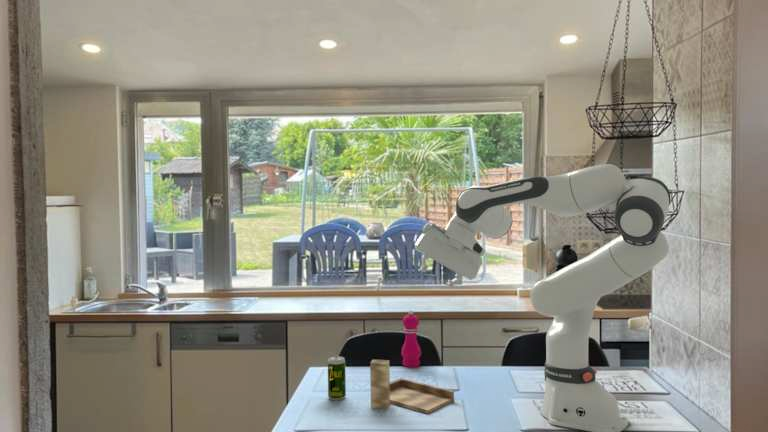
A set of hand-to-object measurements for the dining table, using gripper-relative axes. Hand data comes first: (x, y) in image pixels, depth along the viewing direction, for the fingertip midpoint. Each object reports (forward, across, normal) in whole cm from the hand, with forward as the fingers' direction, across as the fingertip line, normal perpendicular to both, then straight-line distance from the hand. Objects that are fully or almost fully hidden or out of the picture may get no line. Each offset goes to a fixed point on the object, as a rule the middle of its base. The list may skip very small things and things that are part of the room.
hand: (435, 279), depth 162 cm
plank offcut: (+40, +5, +6) cm, 41 cm away
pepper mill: (+29, +23, +44) cm, 57 cm away
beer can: (+46, -5, +16) cm, 48 cm away
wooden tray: (+34, +14, +7) cm, 38 cm away
